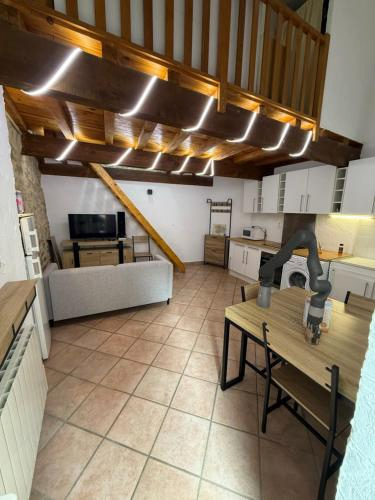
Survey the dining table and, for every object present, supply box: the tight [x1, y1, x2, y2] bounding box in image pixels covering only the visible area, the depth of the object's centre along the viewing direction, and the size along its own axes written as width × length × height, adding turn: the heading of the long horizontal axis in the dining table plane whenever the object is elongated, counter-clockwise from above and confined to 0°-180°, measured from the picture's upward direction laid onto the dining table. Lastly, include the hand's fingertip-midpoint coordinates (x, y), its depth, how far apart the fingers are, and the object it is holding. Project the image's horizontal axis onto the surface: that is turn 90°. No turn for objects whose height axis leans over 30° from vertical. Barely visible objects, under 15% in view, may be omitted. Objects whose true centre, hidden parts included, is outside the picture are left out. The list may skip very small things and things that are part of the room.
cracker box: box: [302, 295, 334, 333], centre depth 131 cm, size 14×6×21 cm, turn 68°
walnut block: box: [304, 328, 320, 345], centre depth 118 cm, size 5×5×7 cm
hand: (311, 339), depth 118 cm, fingers closed on walnut block, 5 cm apart
